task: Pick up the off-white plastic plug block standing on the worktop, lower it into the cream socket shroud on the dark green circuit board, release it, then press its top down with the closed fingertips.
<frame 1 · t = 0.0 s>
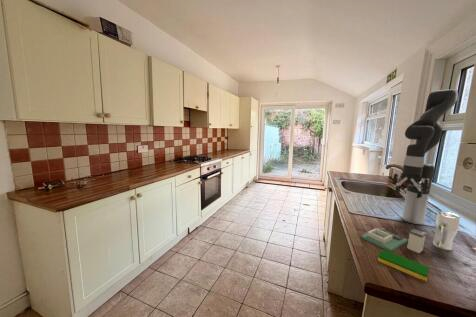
hand: (407, 195, 101), 17 cm above the counter, tool pointing down, fingers open, 8 cm apart
board: (383, 239, 90), on the counter
dish sponge: (401, 267, 73), on the counter
beer glass: (442, 246, 86), on the counter
plug: (414, 249, 83), on the counter
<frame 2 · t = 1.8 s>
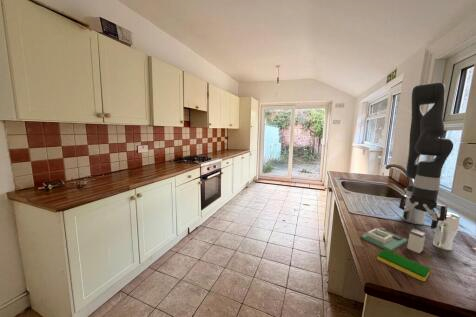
hand: (418, 223, 82), 12 cm above the counter, tool pointing down, fingers open, 8 cm apart
nothing on the counter moved.
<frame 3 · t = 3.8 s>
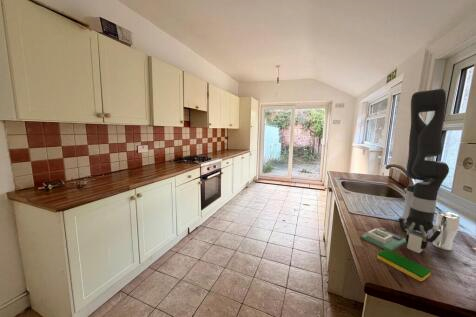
hand: (415, 245, 83), 2 cm above the counter, tool pointing down, fingers closed on plug, 4 cm apart
plug: (414, 249, 83), on the counter, touching gripper
everything else where it was.
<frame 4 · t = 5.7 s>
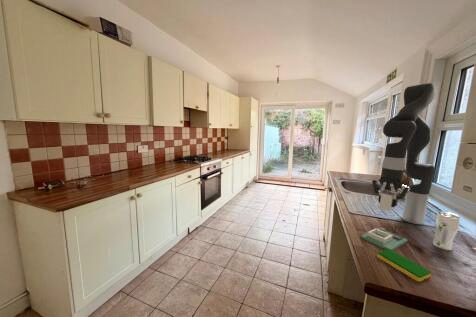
hand: (387, 204, 86), 17 cm above the counter, tool pointing down, fingers closed on plug, 4 cm apart
plug: (386, 208, 87), point 16 cm above the counter, touching gripper
when the fingers open (4 cm above the counter, at t = 8.1 s): plug stays where it is, resting on board.
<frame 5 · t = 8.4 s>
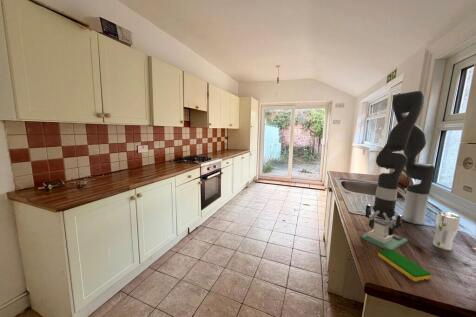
hand: (380, 231, 89), 4 cm above the counter, tool pointing down, fingers open, 7 cm apart
plug: (379, 237, 90), point 1 cm above the counter, touching board
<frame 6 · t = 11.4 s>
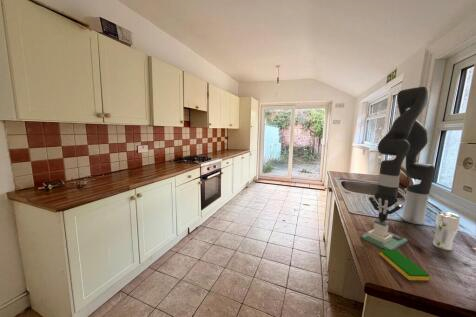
hand: (382, 220, 88), 10 cm above the counter, tool pointing down, fingers closed
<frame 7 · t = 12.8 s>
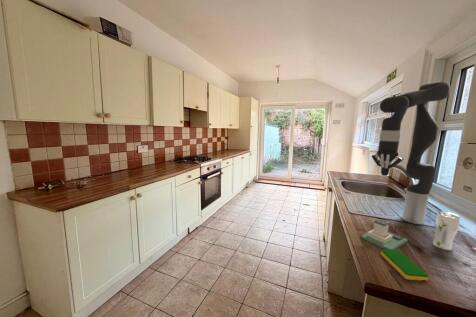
hand: (384, 175, 95), 29 cm above the counter, tool pointing down, fingers closed
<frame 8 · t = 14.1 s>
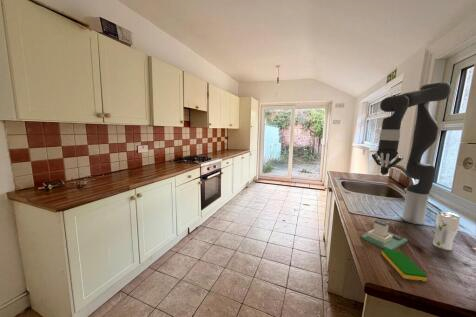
hand: (383, 174, 95), 29 cm above the counter, tool pointing down, fingers closed
at the end: plug 0.0 cm from the target spot on the board, point 1.2 cm above the board's base; plug tilted 0°; the gripper is holding nothing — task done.
